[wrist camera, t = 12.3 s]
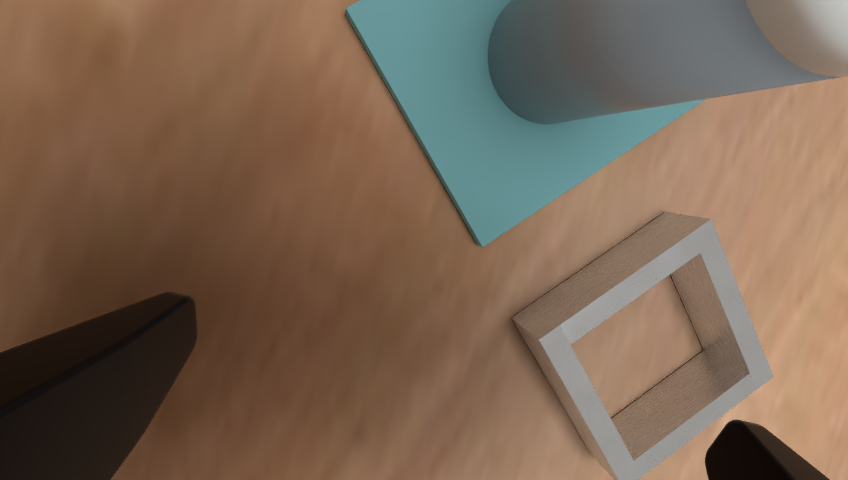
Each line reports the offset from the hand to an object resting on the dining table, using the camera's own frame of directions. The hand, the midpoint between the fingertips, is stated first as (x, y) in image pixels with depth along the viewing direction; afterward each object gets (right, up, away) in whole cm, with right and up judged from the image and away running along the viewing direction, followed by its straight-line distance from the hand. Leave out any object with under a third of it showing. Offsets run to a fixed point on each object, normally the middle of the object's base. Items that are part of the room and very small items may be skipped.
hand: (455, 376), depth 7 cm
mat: (+4, +9, +10) cm, 15 cm away
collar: (+9, -2, +14) cm, 17 cm away
